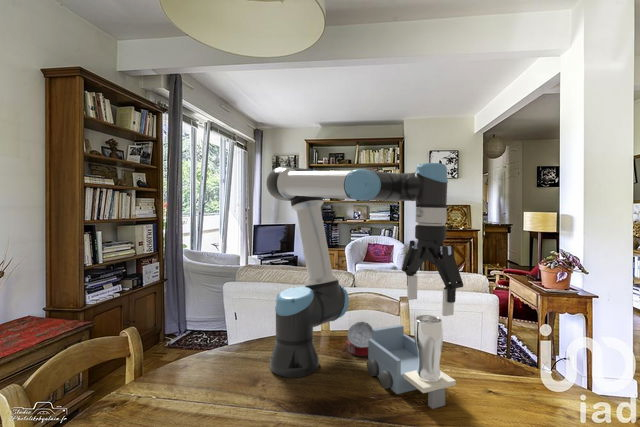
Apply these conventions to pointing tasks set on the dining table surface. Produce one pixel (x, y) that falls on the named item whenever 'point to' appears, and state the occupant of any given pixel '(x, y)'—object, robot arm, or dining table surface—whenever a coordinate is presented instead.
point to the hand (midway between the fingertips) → (428, 306)
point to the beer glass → (428, 347)
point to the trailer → (396, 362)
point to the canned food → (359, 338)
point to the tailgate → (427, 386)
